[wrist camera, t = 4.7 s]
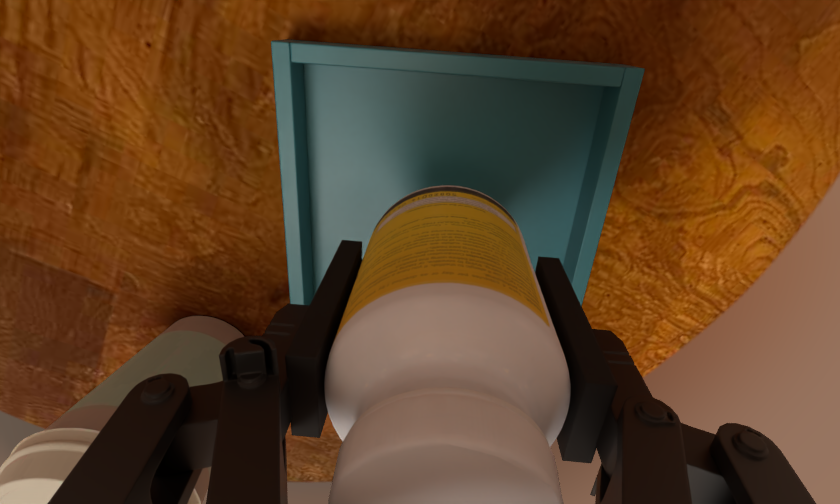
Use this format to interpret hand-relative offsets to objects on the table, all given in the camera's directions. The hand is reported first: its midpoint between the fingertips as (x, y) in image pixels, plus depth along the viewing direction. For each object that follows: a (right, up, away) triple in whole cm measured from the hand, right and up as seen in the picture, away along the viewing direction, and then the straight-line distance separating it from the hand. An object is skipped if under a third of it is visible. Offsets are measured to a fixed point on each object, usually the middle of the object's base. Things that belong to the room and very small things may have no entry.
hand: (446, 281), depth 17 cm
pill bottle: (0, +1, +2) cm, 2 cm away
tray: (0, +3, +7) cm, 8 cm away
